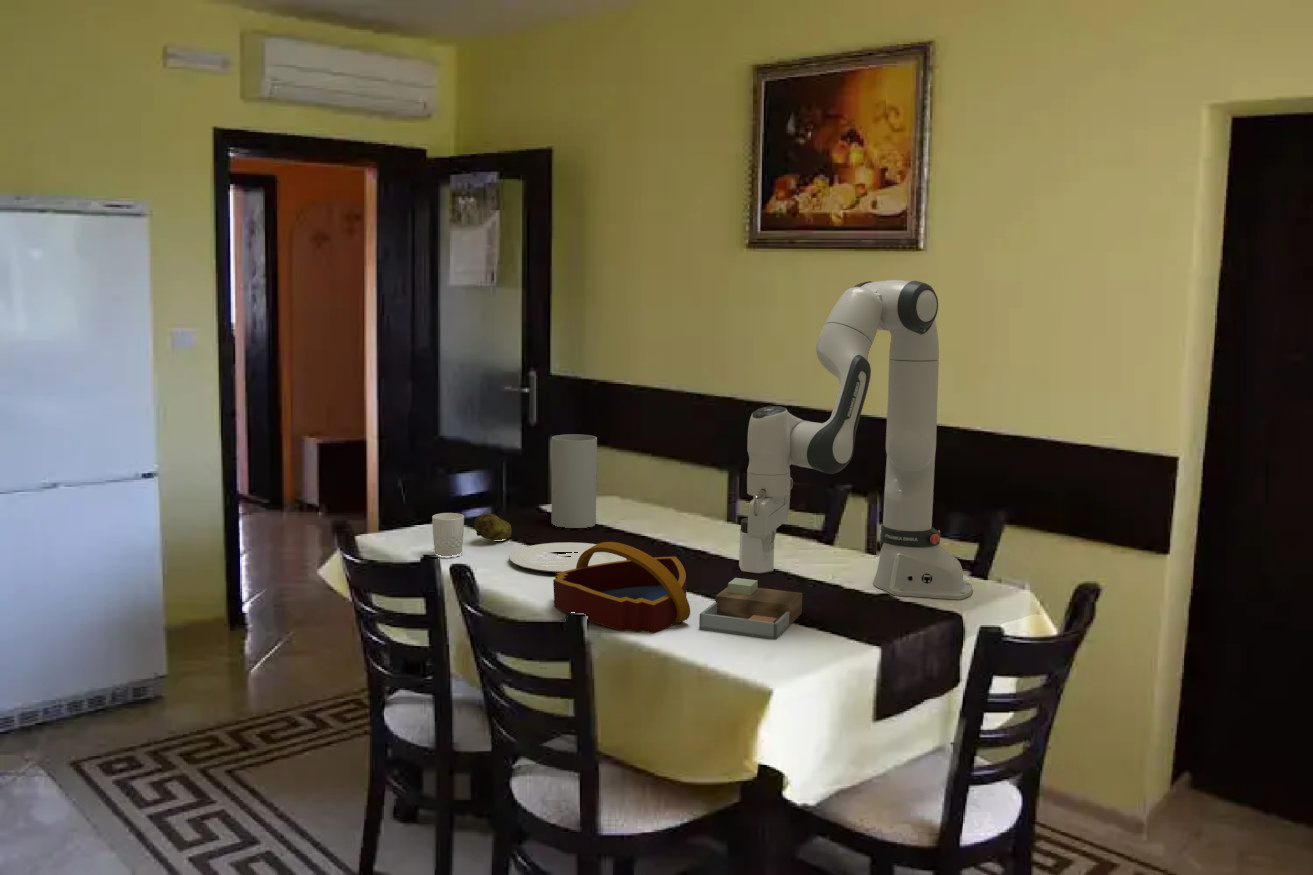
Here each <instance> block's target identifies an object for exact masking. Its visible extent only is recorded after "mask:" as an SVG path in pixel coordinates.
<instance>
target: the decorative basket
mask: <svg viewBox="0 0 1313 875" xmlns="http://www.w3.org/2000/svg"><path fill="white" fill-rule="evenodd" d="M596 544H597V545H595V546H593V547H591V548H590V549H588V550H586V551H585V552H583V553H582V554H581V556H580V557H579V559H578V562H577V566H576V569H572V570H567V571H563V572H559V573H555V576H554V579H552V580H553V583H552V584H553V585H552V586H553V602H554V603H553V604H554V606H553V607H554V608H555V609H558V610H560V611H563V612H564V613H567V614H570V613H571V612H575V613H584V614H586V616H588V620H587V621H589V622H592V623H595V624H598V625H602V626H604V627H608V628H609V629H610V628H611V629H615V630H617V631H620V632H623V631H626V630H629V631H632V632H635V633H639V632H642V631H643V632H646V633H651V634H655V633H660V632H662V631H664V630H666V629H668V628H669V627H671V626H673V625H674V624H679V623H682V622H684V621H686V620H688V619H689V618H690V616H691V608H690V604H689V601H688V598H687V575H686V570H685V568H684V566H683V564H682V562H681V561H680V560H679V559H678V558H677V556H659V557H653V556H651V555H650V554H648V553H646V552H644V551H643V550H640V549H638V548H635V547H634V546H632V545H631V546H630V545H628V544H625V543H621V542H616V541H603V542H598V543H596ZM596 552H607V553H612V554H615V555H618V556H621V557H624V558H626V559H627V560H624V561H616V562H609V563H603V564H597V565H591V566H588V563H589V561H590V559H591V557H592V555H593V554H594V553H596Z"/></svg>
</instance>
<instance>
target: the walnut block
mask: <svg viewBox="0 0 1313 875" xmlns="http://www.w3.org/2000/svg"><path fill="white" fill-rule="evenodd" d="M715 602H717V615H724V616H732V617H739V618H747V619H749V618H750V617H751V616H753V615H758V616H765V617H773V618H777V620H778V619H779V618H780V617H781V616H782V615H783V614H785V613H786V612H789V627H790V626H791V625H792V624H794V622H795V621H796V620H797V619H798V618H799V617H800V616H801V615H802V612H803V611H802V610H803V608H802V607H803V592H797V591H786V590H782V589H781V590H780V589H771V588H764V587H758V588H757V590H756V591H755V592H754V593H753V594H751V595H744V594H736V593H728V586H727V587H725V588H724V589H723V590H721V591H720V592H719V593H718V594H716V595H715Z"/></svg>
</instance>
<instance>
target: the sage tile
mask: <svg viewBox="0 0 1313 875" xmlns="http://www.w3.org/2000/svg"><path fill="white" fill-rule="evenodd" d="M758 583H759V581H758V579H756V580H755V579H751V578H750V579H747V578H740V577H734V578H733V579H732V580H730V581H729V582H728V583H727V587H728V593H736V594H744V595H751V594H753V593H754V592H755V591H756V590H757V588H759V586H758V585H759V584H758Z"/></svg>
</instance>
